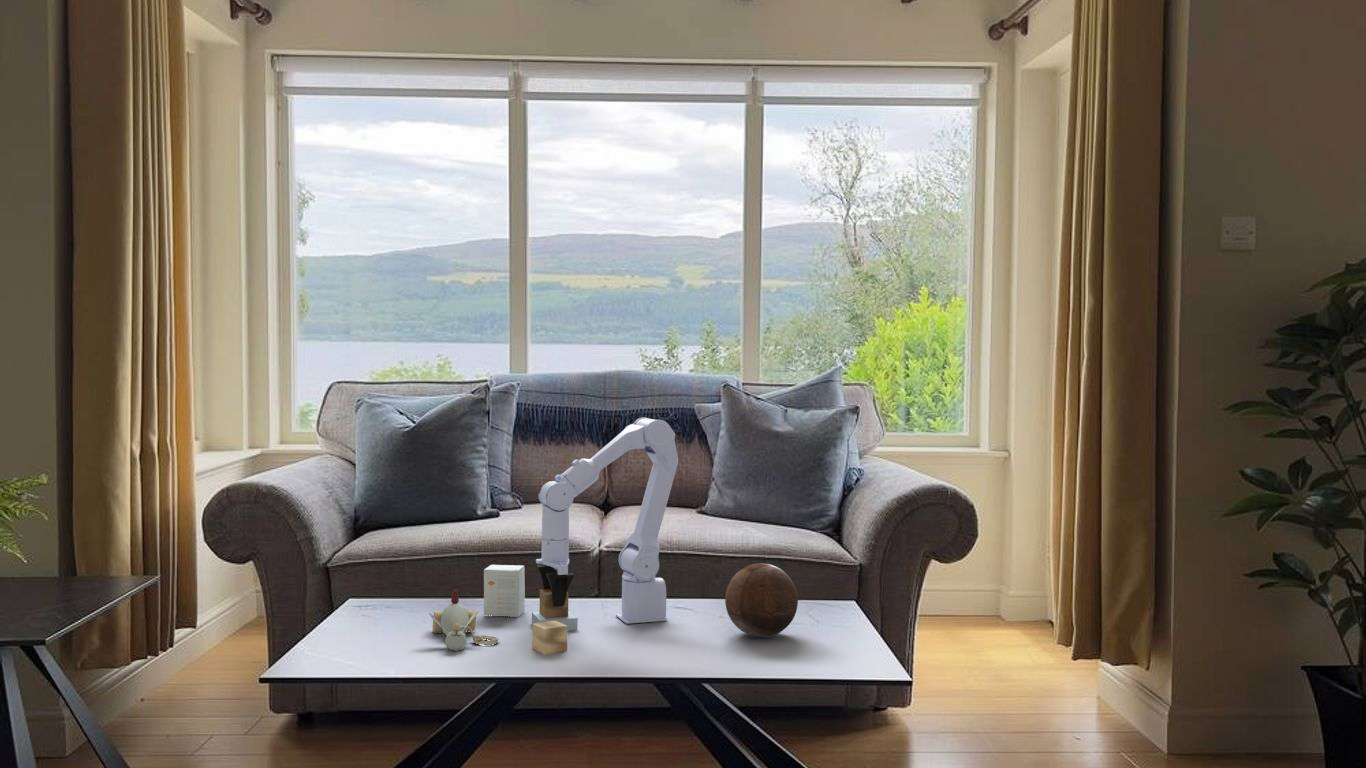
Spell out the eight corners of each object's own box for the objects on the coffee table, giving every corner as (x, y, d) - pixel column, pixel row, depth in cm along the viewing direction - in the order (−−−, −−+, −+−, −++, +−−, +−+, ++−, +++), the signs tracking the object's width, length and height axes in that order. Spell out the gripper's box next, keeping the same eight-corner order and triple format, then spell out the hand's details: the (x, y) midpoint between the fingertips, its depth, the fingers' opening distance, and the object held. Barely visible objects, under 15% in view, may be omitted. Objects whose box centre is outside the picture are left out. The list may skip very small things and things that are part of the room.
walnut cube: (562, 611, 228) (562, 588, 228) (568, 616, 223) (568, 593, 223) (539, 612, 226) (539, 589, 226) (544, 618, 221) (545, 594, 221)
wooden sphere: (811, 636, 220) (812, 564, 219) (766, 650, 209) (767, 574, 208) (755, 623, 230) (756, 554, 230) (709, 635, 219) (710, 563, 219)
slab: (568, 623, 230) (568, 609, 230) (577, 632, 222) (577, 617, 222) (531, 625, 227) (531, 611, 227) (539, 635, 219) (540, 620, 219)
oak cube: (554, 645, 210) (555, 620, 210) (567, 651, 206) (567, 625, 206) (532, 648, 207) (532, 623, 207) (544, 655, 203) (544, 629, 203)
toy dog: (446, 655, 203) (446, 609, 202) (411, 634, 218) (411, 591, 218) (505, 646, 210) (505, 601, 210) (467, 626, 225) (467, 584, 225)
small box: (525, 611, 237) (525, 565, 237) (518, 617, 232) (519, 570, 231) (490, 610, 238) (490, 564, 238) (483, 616, 232) (483, 568, 232)
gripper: (529, 533, 229) (528, 595, 230) (544, 545, 216) (543, 611, 216) (561, 532, 232) (560, 593, 232) (578, 543, 218) (577, 608, 219)
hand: (554, 602), depth 224 cm, fingers open, 7 cm apart
